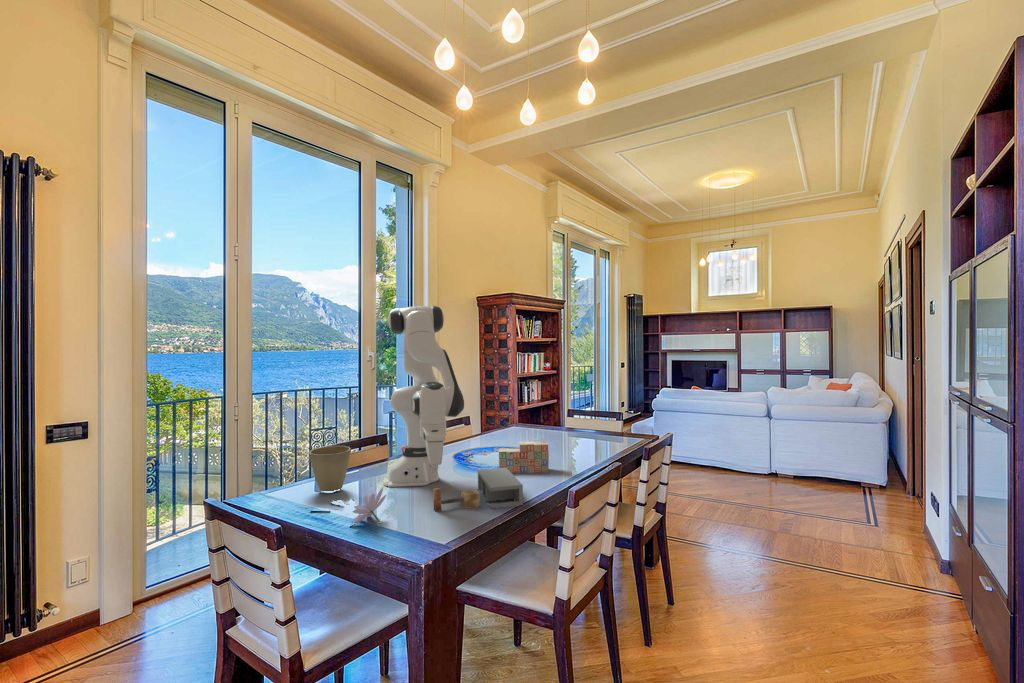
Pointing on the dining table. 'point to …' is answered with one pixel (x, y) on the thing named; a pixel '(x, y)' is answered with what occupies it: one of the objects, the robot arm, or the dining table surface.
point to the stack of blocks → (526, 458)
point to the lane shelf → (500, 487)
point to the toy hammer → (456, 499)
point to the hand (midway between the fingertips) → (433, 471)
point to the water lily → (368, 507)
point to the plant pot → (330, 466)
